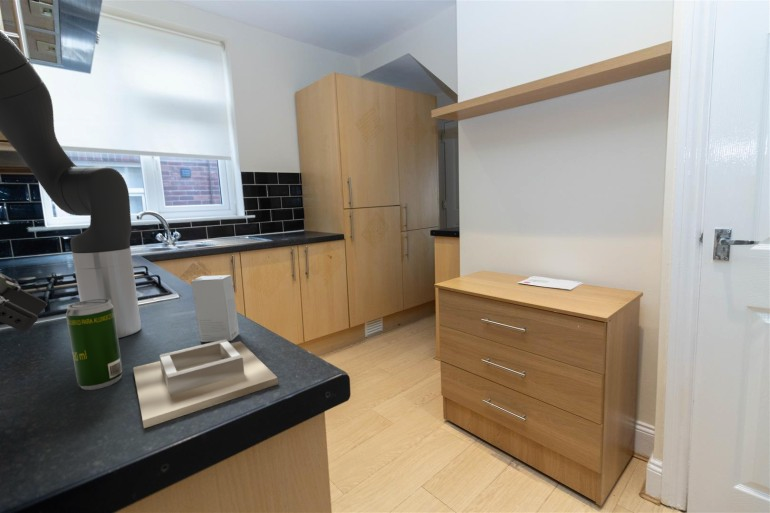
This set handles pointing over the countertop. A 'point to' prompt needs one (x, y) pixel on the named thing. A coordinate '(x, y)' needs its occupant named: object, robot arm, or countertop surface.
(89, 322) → the beer can
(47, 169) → the robot arm
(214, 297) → the skincare box
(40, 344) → the countertop surface
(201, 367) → the socket plate
